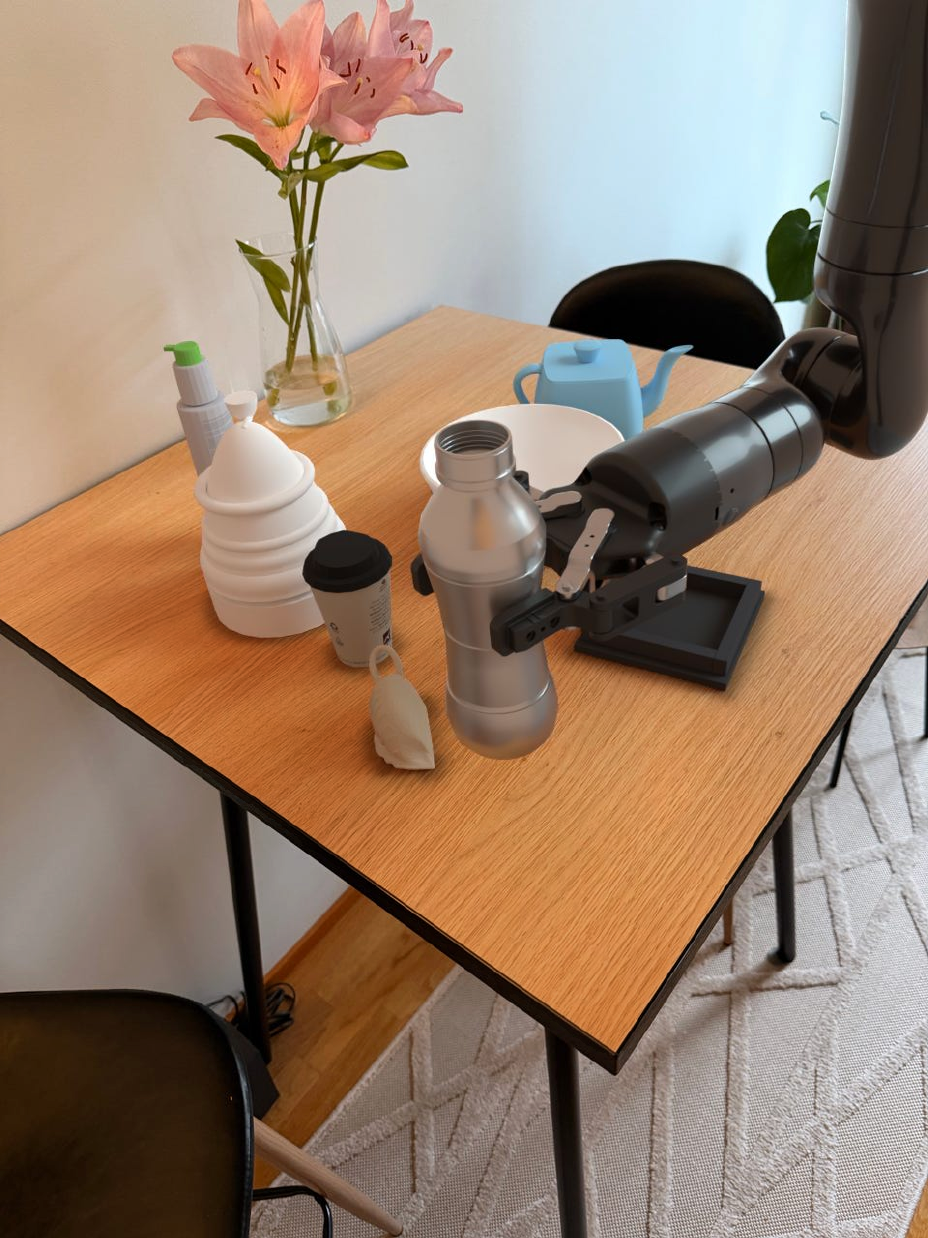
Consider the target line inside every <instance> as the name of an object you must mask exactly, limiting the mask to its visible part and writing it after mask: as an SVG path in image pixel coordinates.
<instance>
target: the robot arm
mask: <svg viewBox="0 0 928 1238" xmlns="http://www.w3.org/2000/svg"><path fill="white" fill-rule="evenodd" d="M844 34H845V36H844V60H843V61H844V63H843V78H842V79H843V80H842V81H843V82H842V92H841V93H842V95H841V107H840V116H839V117H840V119H839V125H838V126H839V127H838V134H837V141H836V147H835V154H834V155H835V156H834V159H833V166H832V172H831V177H830V181H829V187H828V192H827V197H826V202H825V207H824V211H823V212H824V213H823V218H822V223H821V227H820V232H819V238H818V244H817V250H816V253H815V259H814V263H813V264H814V265H813V271H812V279H811V281H812V282H811V283H812V284H811V285H812V290H813V293H814V295H815V297H816V298H817V300H818V301H819V302H820V303H821V304H823V305H824V306H825V307H826V308H827V309H828V310H830V312H833V314H836V315H837V316H838V317H839V318H841V319H842V320H843V321H845V323H847V324H848V325H849V327H850V328H851V329H852V330H853V331H854V334H855V335H853V334H851V333H848V332H845V331H842V330H839V329H836V328H832V327H825V326H823V327H822V326H818V327H817V326H815V327H810V328H805V329H802V330H799V331H795V332H794V333H791V334H790V335H789V336H787V337H786V338H785V339H784V340H783V341H782V342H781V343H779V344H778V346H777V347H776V348H775V349H774V350H773V351H772V352H771V354H770V355H769V356H768V357H767V358H766V359H765V360H764V361H763V362H762V363H761V365H760V366H759V367H757V369H756V370H755V371H754V372H753V373H752V374H751V375H750V376H748V378H747V379H746V380H745V381H744V382H743V383H742V384H741V385H740V386H739V387H738V388H736V389H733V390H731V391H730V392H727V393H726V394H723V395H721V396H720V397H717V398H716V399H714V400H712V401H709V402H707V403H706V404H704V405H701V406H700V407H697V408H693V409H689V410H687V411H683V412H680V413H677V414H675V415H672V416H671V417H668V418H667V419H665V420H662V421H661V422H659V423H657V424H655V425H653V426H651V427H649V428H647V429H645V430H643V432H641V433H639V434H637V435H635V436H633V437H631V438H629V439H627V440H625V441H624V442H622V443H620V444H618V445H616V446H614V447H612V448H610V449H608V450H606V451H604V452H602V453H600V454H598V455H596V456H595V457H593V458H592V459H591V460H590V461H589V462H588V463H587V465H586V466H585V468H584V469H583V471H582V472H581V474H580V475H579V476H578V478H577V479H576V480H575V481H574V482H573V483H572V484H570V485H567V486H562V487H557V488H552V489H549V490H547V491H545V492H544V491H542V490H539V489H537V488H535V487H532V486H530V485H529V474H528V473H527V472H526V471H522V470H518V471H516V472H515V475H514V476H513V478H514V479H515V480H516V481H517V482H518V483H519V484H520V485H521V486H522V487H523V488H524V489H525V490H526V491H527V493H528V494H529V495H530V496H531V497H532V499H533V500H534V501H535V502H536V504H537V505H538V507H539V510H540V512H541V514H542V517H543V519H544V522H545V524H546V548H545V560H544V568H545V567H546V568H549V569H551V570H553V571H554V572H555V573H556V574H557V576H558V577H559V579H558V580H557V582H556V583H555V587H554V588H555V590H554V591H552V590H551V589H549V588H547V586H546V587H543V588H541V590H540V591H538V592H536V593H535V594H533V595H531V596H529V597H528V598H526V599H524V600H522V601H521V602H519V603H517V604H515V605H514V606H512V607H510V608H508V609H507V610H505V611H503V612H501V613H500V614H498V615H496V616H495V617H494V618H493V619H492V620H491V622H490V637H491V646H492V649H493V650H495V651H496V652H497V653H499V654H500V655H501V656H503V657H506V656H508V655H510V654H512V653H513V652H515V653H519V652H523V651H526V650H528V649H530V648H531V647H533V646H534V645H535V644H538V643H540V642H541V641H543V640H546V639H548V638H549V637H551V636H553V635H554V634H556V633H558V632H559V631H561V630H562V631H566V632H571V631H574V630H577V629H581V628H582V629H585V630H588V631H590V637H591V638H592V639H593V640H595V641H600V642H603V641H608V640H610V639H612V638H614V637H616V636H618V635H620V634H622V633H624V632H626V631H628V630H630V629H632V628H634V627H635V626H637V625H639V624H641V623H643V622H645V621H647V620H649V619H651V618H653V617H655V616H657V615H659V614H661V613H663V612H665V611H667V610H669V609H671V608H673V607H675V606H677V605H679V604H681V603H683V602H684V600H685V591H686V583H687V565H688V559H687V558H686V557H685V556H684V555H686V554H688V553H689V552H690V551H692V550H694V549H695V548H698V547H699V546H701V545H702V544H704V543H706V542H707V541H709V540H710V539H712V538H713V537H715V536H716V535H718V534H720V533H722V532H724V531H725V530H727V529H728V528H730V527H732V526H734V525H735V524H736V523H738V522H739V521H741V520H742V519H743V518H744V517H745V516H746V515H747V514H748V513H750V511H752V510H753V509H754V508H755V507H757V506H759V505H760V504H762V503H764V502H765V501H767V500H769V499H770V498H772V497H774V496H775V495H777V494H779V493H780V492H782V491H783V490H785V489H787V488H789V487H790V486H792V485H794V484H795V483H796V482H798V481H799V480H802V478H803V477H805V476H806V475H807V474H808V473H810V471H812V469H813V468H814V467H815V466H816V465H817V463H818V462H819V460H820V458H821V457H822V455H823V450H824V447H825V445H827V446H829V447H831V448H834V449H836V450H838V451H841V452H843V453H845V454H846V455H849V456H852V457H855V458H857V459H861V460H864V461H879V460H883V459H887V458H890V457H892V456H894V455H895V454H897V453H899V452H900V451H902V450H903V449H904V448H905V447H906V446H908V445H909V444H910V443H911V442H912V441H913V440H914V438H915V437H916V436H917V434H918V433H919V432H920V430H921V428H922V427H923V424H924V422H925V421H926V418H927V416H928V0H846V9H845V33H844ZM409 569H410V575H411V576H410V577H411V581H412V587H413V590H415V592H417V593H419V594H420V595H421V596H423V597H428V596H430V595H433V594H435V593H434V590H433V587H432V584H431V581H430V578H429V575H428V572H427V570H426V567H425V564H424V560H423V558H422V554H421V552H419V553H418V554H417V555H416V556H415V557H414V558H413V560H412V561H411V564H410V565H409ZM611 579H618V580H616V581H614V582H611V583H609V582H610V580H611ZM607 583H609V584H607ZM606 584H607V585H606ZM622 603H623V605H622V607H621V608H620V609H618V610H616V611H614V612H613V608H614V607H616V606H618V605H620V604H622Z"/></svg>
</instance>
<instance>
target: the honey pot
mask: <svg viewBox="0 0 928 1238" xmlns="http://www.w3.org/2000/svg"><path fill="white" fill-rule="evenodd" d="M224 401H225V404H226V407H227V409H228V410H229V412H230V413H231V416H232V417H234V418H235V419H237V420H239V421H237V422H234V425H232V426H231V427H230V428H229V429H228V430H227V431H226V432H225V433H224V435H223V436H222V438H221V440H220V442H219V444H218V446H217V448H216V451H215V454H214V457H213V460H212V464H211V466H209V467H208V468H207V469H206V470H205V471H203V472H202V473H201V474H200V475H199V477H198V476H197V479H196V480H195V482H194V484H193V496H194V499H195V500H196V502H197V504H198V506H200V507H202V508H203V509H204V513H203V515H202V517H201V547H200V551H199V553H200V554H199V565H200V569H201V571H202V573H203V578H204V580H205V585H206V588H207V590H208V593H209V596H210V599H211V603H212V605H213V608H214V611H215V613H216V615H217V617H218V620H219V622H221V624H222V625H224V626H225V627H226V628H227V629H229V630H230V631H234V632H235V633H238V634H240V635H242V636H247V637H252V638H259V639H270V638H283V637H289V636H294V635H299V634H302V633H305V632H308V631H311V630H313V629H316V628H318V627H320V626H323V625H325V622H324V620H323V617H322V615H321V612H320V610H319V607H318V605H317V602H316V600H315V597H314V595H313V593H312V590H311V588H310V585H309V584H307V583H306V582H305V580H304V577H303V575H302V571H303V565H304V561H305V559H306V557H307V556H308V554H309V553H310V551H312V550H313V549H314V548H315V546H316V543H317V541H318V540H319V539H320V538H322V537H324V536H326V535H328V534H330V533H334V532H338V531H341V530H347V528H346V525H345V524H344V522H343V521H342V520H341V518H340V516H339V515H338V514H337V513H336V511H335V508H334V507H333V506H332V505H331V503H330V501H329V498H328V495H326V493H325V492H324V490H322V489H323V488H321V487H319V486H318V485H317V483H316V482H315V478H316V469H315V465H314V463H313V462H312V461H311V460H310V458H309V457H308V456H307V455H305V454H303V453H301V452H300V451H297V450H295V449H294V450H293V449H290V448H289V447H288V446H287V444H286V443H285V442H284V441H283V440H282V439H281V438H280V437H278V436H277V435H276V433H274V432H273V431H271V430H270V429H268V428H267V427H266V426H264V425H262V424H260V423H258V422H254V421H253V419H254V416H255V415H256V413H257V411H258V394H257V392H256V391H254V390H250V389H243V390H237V391H236V390H235V391H234V392H231V393H229V394H226V397H225V399H224Z"/></svg>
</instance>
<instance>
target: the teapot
mask: <svg viewBox="0 0 928 1238" xmlns="http://www.w3.org/2000/svg"><path fill="white" fill-rule="evenodd" d="M693 348H694V345H692V344H686V345H679V346H674V347H672V348H670V349H668V350H666V351H665V352H664V353H663V354H662V355H661V357H660V358H659V360H658V362H657V365H656V368H655V372H654V374H653V377H652V378H651V380H650V381H649V382H648V383H647V384H645V385H643V386H641V384H640V380H639V376H638V371H637V368H636V364H635V361H634V358H633V355H632V354H633V353H632V352H631V349H630V347H629V345H628V344H627V343H626V342H625V341H624V340H623V339H614V338H613V339H593V338H586V339H581V340H573V341H564V342H563V341H561V342H560V341H559V342H552V343H549V345H548V346H546V347H545V350H544V352H543V356H542V360H541V363H537V362H535V363H529V364H526V365H525V366H523V367H522V368H520V369H519V370H518V371H517V372H516V374H515V375H514V377H513V381H512V389H513V392H514V395H515V397H516V399H517V402H518V403H519V404H531V402H530V401H529V399H528V398H527V396H526V393H525V392H524V390H523V386H522V381H523V380H524V379H525V378H526V377H528V376H530V375H536V374H537V375H538V376H537V381H536V385H535V389H534V390H535V391H534V398H533V404H551V405H559V406H566V407H572V408H576V409H579V410H583V411H587V412H589V413H592V414H594V415H597V416H599V417H601V418H603V419H604V420H606V421H608V422H609V423H611V424H612V425H613V426H614V427H615V428H616V429H617V430H618V431H620V433H621V434H622V436H623V438H624V440H627V439H629V438H631V437H633V436H635V435H637V434H639V433H641V432H643V431H644V419H646V418H648V417H649V416H652V414H653V413H655V412H656V411H657V410H658V409H659V408H660V406H661V404H662V403H663V401H664V397H665V396H666V392H667V389H668V384H669V381H670V376H671V373H672V370H673V367H674V366H675V364H676V362H677V361H678V360H679V359H680V357H682V356H683V355H685V354H686V353H687V352H689V351H690V350H692V349H693Z"/></svg>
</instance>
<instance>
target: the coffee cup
mask: <svg viewBox="0 0 928 1238" xmlns="http://www.w3.org/2000/svg"><path fill="white" fill-rule="evenodd" d="M392 566H393V555H392V554H391V552H390V550H389V548H388V547H387V546H386V545H385V543H383V542H382V541H381V540H379V539H377V538H374V537H371V536H370V535H368V534H366V533H363V532H359V531H354V530H349V529H346V530H341V531H338V532H334V533H330V534H328V535H326V536H324V537H322V538H320V539H319V540H318V541H317V543H316V546H315V548H314V549H313V550H312V551H310V553H309V554H308V556H307V557H306V559H305V561H304V565H303V571H302V575H303V577H304V580H305V582H306V583H307V584H309V585H310V588H311V590H312V593H313V595H314V597H315V600H316V602H317V605H318V607H319V610H320V612H321V615H322V617H323V620H324V622H325V623H324V625H325V627H326V630H327V632H328V635H329V637H330V640H331V642H332V645H333V647H334V650H335V652H336V654H337V657H338V659H339V661H340V662H342V663H343V664H344V665H346V666H349V667H351V668H368V667H369V659H370V655H371V653H372V651H373V649H374V648H376V647H377V646H379V645H387V646H389V647H391V648H392V649H393V621H392V619H393V618H392V592H391V591H392V589H391V568H392ZM389 656H390V655H389V654H388V653H386V652H383V651H382V652H380V653H379V654H378V655H377V658H376V665H378V664H379V663H382V662H383V661H385V659H387V657H389Z"/></svg>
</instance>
